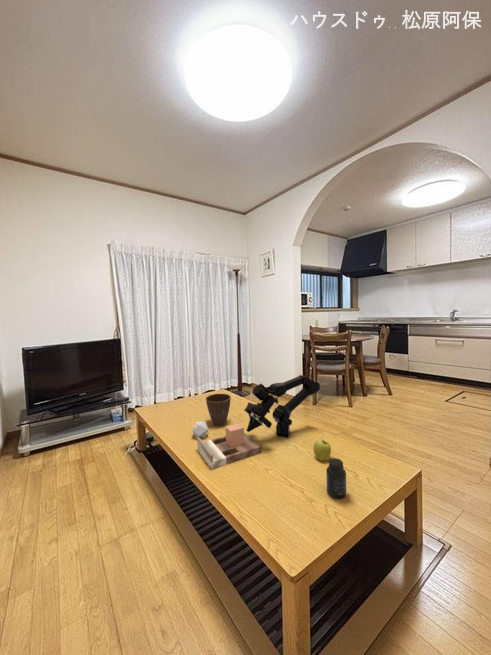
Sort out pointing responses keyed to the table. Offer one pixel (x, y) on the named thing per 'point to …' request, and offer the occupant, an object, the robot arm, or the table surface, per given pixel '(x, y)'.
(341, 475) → the supplement bottle
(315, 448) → the apple
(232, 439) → the block
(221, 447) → the brown piece
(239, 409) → the table surface
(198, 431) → the die
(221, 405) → the plant pot
